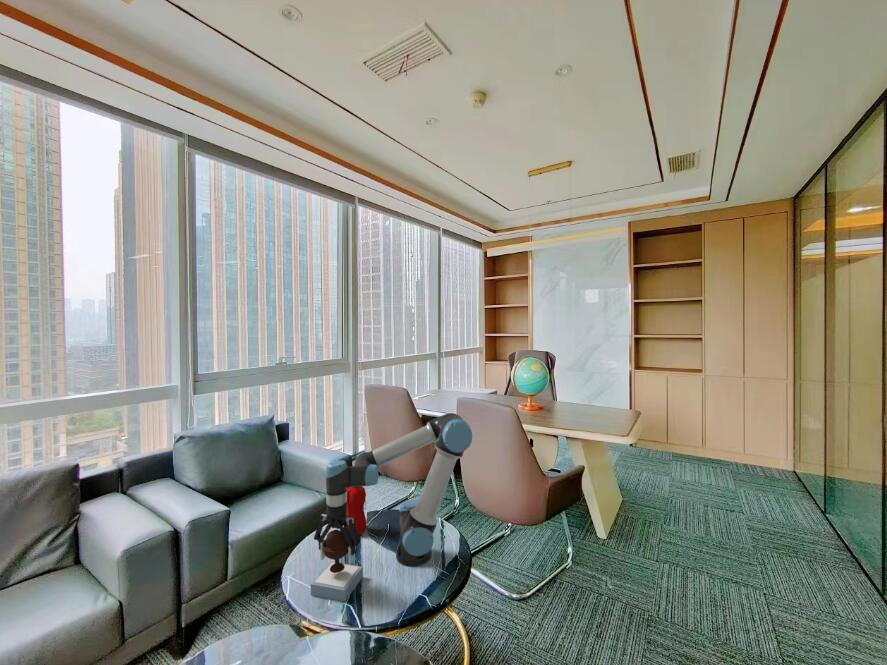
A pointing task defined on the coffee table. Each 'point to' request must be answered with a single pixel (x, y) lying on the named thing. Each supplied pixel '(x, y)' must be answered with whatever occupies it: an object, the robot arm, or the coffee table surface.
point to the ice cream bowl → (336, 549)
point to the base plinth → (337, 582)
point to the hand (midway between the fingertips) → (337, 560)
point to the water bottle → (356, 507)
